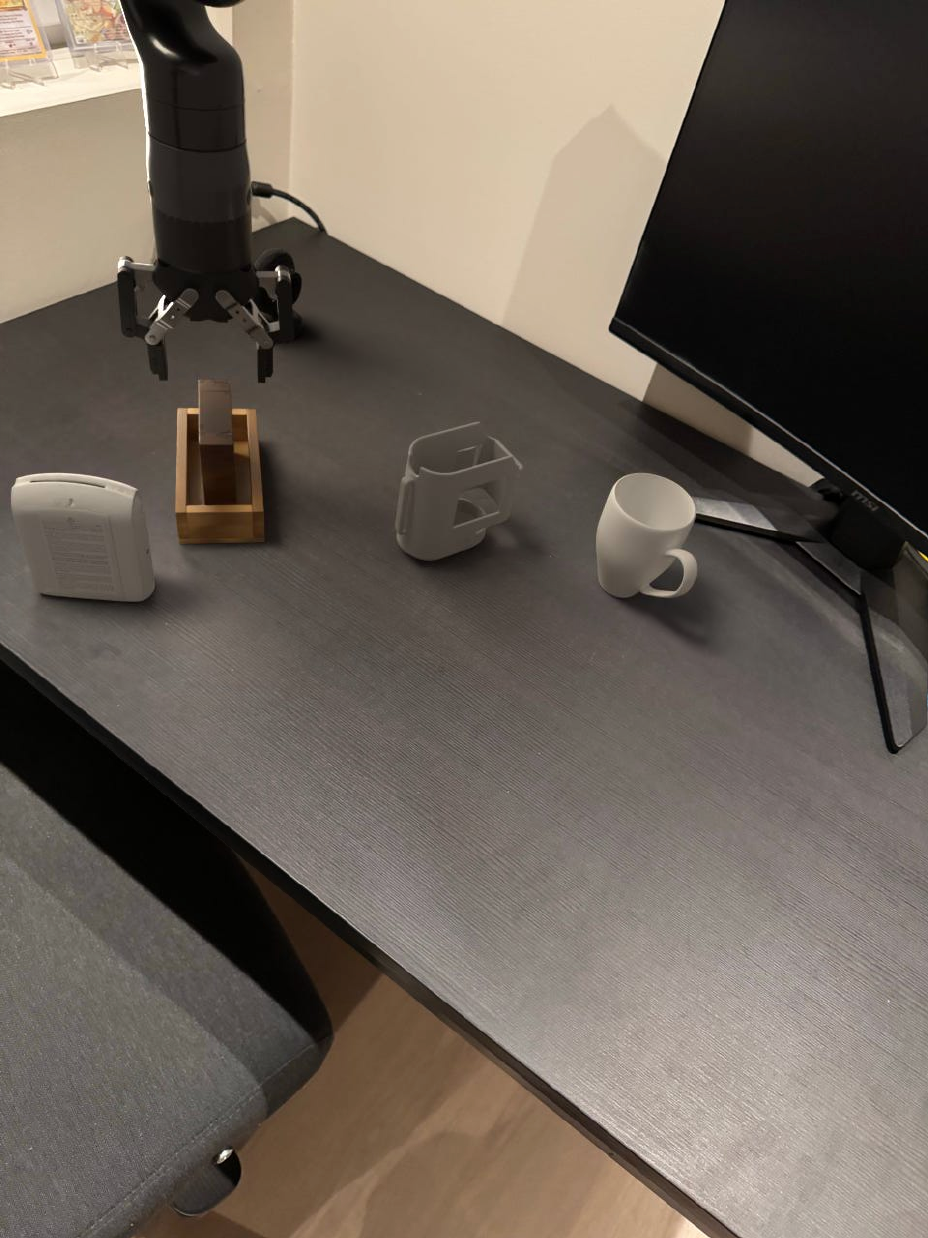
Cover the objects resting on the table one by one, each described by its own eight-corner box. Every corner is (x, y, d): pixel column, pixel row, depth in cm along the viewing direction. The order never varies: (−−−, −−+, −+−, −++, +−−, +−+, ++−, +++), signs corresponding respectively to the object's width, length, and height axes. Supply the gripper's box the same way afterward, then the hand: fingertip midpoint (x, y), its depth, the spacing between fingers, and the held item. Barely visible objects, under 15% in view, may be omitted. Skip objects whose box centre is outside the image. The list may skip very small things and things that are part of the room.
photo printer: (160, 572, 78) (144, 468, 69) (151, 607, 76) (133, 503, 66) (43, 563, 77) (11, 456, 68) (29, 598, 74) (-7, 491, 65)
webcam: (280, 350, 105) (280, 273, 97) (230, 328, 106) (226, 251, 99) (314, 324, 110) (316, 249, 102) (265, 303, 111) (264, 228, 104)
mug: (564, 563, 88) (595, 480, 80) (628, 547, 91) (664, 464, 83) (627, 649, 82) (668, 568, 73) (693, 627, 85) (739, 547, 77)
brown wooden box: (205, 517, 83) (198, 444, 76) (204, 452, 89) (198, 379, 83) (237, 516, 84) (233, 444, 77) (234, 452, 90) (230, 380, 83)
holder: (179, 544, 81) (175, 512, 78) (180, 439, 91) (177, 407, 88) (264, 542, 83) (263, 511, 80) (257, 439, 93) (256, 408, 90)
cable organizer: (508, 541, 89) (533, 450, 80) (407, 577, 83) (423, 484, 74) (473, 502, 92) (494, 410, 83) (374, 534, 86) (385, 439, 77)
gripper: (291, 182, 69) (289, 356, 81) (105, 166, 65) (131, 351, 77) (298, 225, 64) (295, 403, 76) (98, 210, 61) (127, 399, 73)
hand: (212, 377), depth 77 cm, fingers open, 8 cm apart
